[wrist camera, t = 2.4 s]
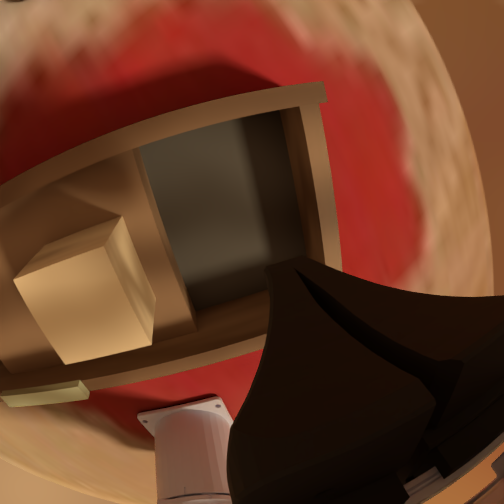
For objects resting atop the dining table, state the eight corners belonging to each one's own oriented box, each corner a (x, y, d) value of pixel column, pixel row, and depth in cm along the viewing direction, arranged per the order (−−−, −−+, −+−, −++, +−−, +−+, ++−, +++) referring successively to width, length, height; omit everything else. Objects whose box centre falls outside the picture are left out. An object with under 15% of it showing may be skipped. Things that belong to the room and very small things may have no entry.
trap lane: (322, 282, 21) (356, 323, 17) (-26, 372, 18) (-43, 408, 13) (289, 88, 16) (328, 77, 11) (-92, 256, 12) (-123, 282, 8)
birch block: (156, 298, 16) (151, 344, 13) (82, 319, 16) (65, 364, 12) (122, 215, 14) (103, 245, 10) (44, 245, 14) (12, 280, 10)
